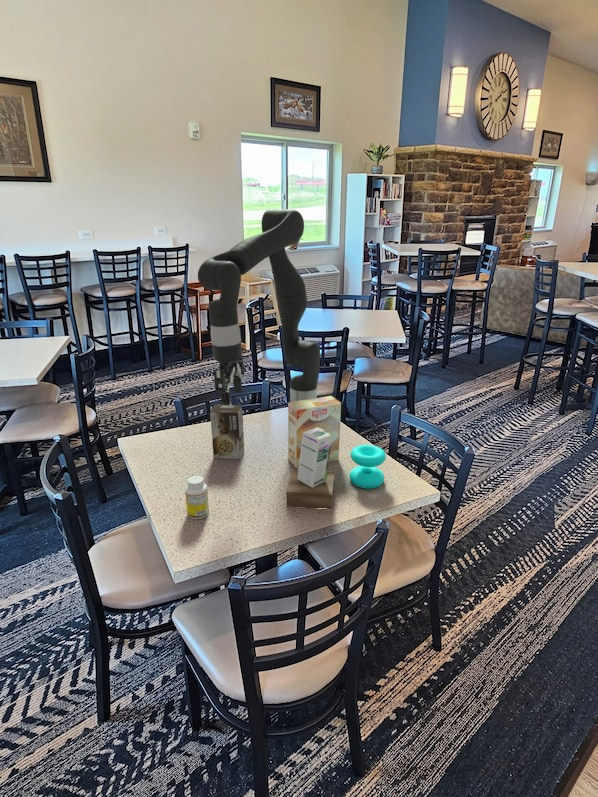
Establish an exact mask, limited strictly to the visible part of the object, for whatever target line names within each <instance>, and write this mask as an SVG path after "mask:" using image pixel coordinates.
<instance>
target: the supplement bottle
mask: <svg viewBox="0 0 598 797" xmlns="http://www.w3.org/2000/svg"><path fill="white" fill-rule="evenodd" d="M186 480H187V483H186V484H187V485H186V486H185V488H184V492H185V493H184V494H185V502H186V503H185V504H186V511H187V512H186V514H187V516H188V517H189V518H190V519H193V520H201V519H203V518H206V517H207V516H208V515H209V513H210V509H209V508H210V506H209V495H208V493H209V492H208V485H207V484H206V483H205V480H204V478H203V477H202V476H200V475H194V476H190V477H188V479H186Z"/></svg>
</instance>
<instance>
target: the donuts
mask: <svg viewBox="0 0 598 797" xmlns="http://www.w3.org/2000/svg"><path fill="white" fill-rule="evenodd" d="M350 458H351V460H352V461H353V462H354V463H355V464H356V465H358V466H355V467H353V469H352V470H351V471H350V473H349V480H350V482H351V483H352V484H353V485H355V486H356V487H358V488H362V489H368V490H369V489H376V488H378V487H380V486H382V485H383V483H384V481H385V474H384V472H383V471H382V470H381V469H380V468H378V466H381V465H382V464H383V463H385V461H386V459H387V453H386V452H385V450H384V449H382V448H381V447H379V446H377V445H373V444H359V445H357V446H355V447H353V448H352V450H351V451H350Z"/></svg>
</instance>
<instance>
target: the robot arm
mask: <svg viewBox="0 0 598 797" xmlns="http://www.w3.org/2000/svg"><path fill="white" fill-rule="evenodd" d="M304 231H305V221H304V217H303V215H302V214H301V213H300V212H299V211H298V210H296V209H292V208H291V209H289V208H288V209H287V208H285V209H284V208H273V209H266V211H264V213H263V215H262V217H261V233H258V234H255V235H252V236H250V237H247V238H245V239H243V240H242V241H240V242H239V243H237V244H236V245H234V246H233V247H231V248H230V249H229V250H228V251H224V252H222V253H219V254H217V255H216V254H215V255H214V256H212V257H210V258H207V259H206V260H205V261H203V263H202V264H201V265H200V266H199V268H198V271H197V280H198V283H199V284H200V285H201V286H202V287H203V288H204V289H206V290H210V291H220V296H219V298H218V299H217V298H216V299H214V300H212V301H210V302H209V304H208V314H209V322H210V339H211V347H212V356H213V359H214V360H215V361H216V362H218V364H219V368H218V369H214V370H213V376H214V377H213V380H214V388H215V389H214V390H215V393H220V400H221V405H231V397H230V396H231V395H230V387H231V385H232V384H233V392H234V393H235V394H236V393H237V394H241V393H242V392H243V382H242V380H243V376H244V375H245V363H244V356H243V347H242V336H241V328H240V326H239V316H238V302H239V295H240V289H241V283H242V276H243V275H245V274H247V273H248V272H249V271H251V270H252V269H253V268H255V267H256V266H257V265H258V264H259V263H260V262H262V261H264V260H266V258H269V263H270V266H271V272H272V277H273V283H274V288H275V295H276V301H277V306H278V311H279V315H280V321H281V329H282V339H283V340H282V341H283V342H282V343H283V351H284V358H285V362H286V363H287V364H288V366H291V367H294V368H298V369H302V374H299V375H295V376H293V377H292V378H290V379H289V380H290V382H289V395H290V396H289V397H290V398H289V402H294V401H300V400H307V399H313V398H318V382H319V378H320V366H321V365H320V364H321V363H320V362H321V349H320V346H319V344H318V343H317V342H314V341H309V340H303V339H300V336H299V324H300V322H301V320H302V317H303V316H304V314H305V312H306V309H307V306H308V296H307V290H306V284H305V281H304V279H303V277H302V276H301V274H300V273H299V271H298V270H297V269H296V267H295V266H294V264H293V263H292V261H291V260H290V258H289V256H288V254H287V251H286V248H288V247H289V246H291V245H294V244H295V243H297V242H298V241H299V240H301V238H302V237H303V235H304Z"/></svg>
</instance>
